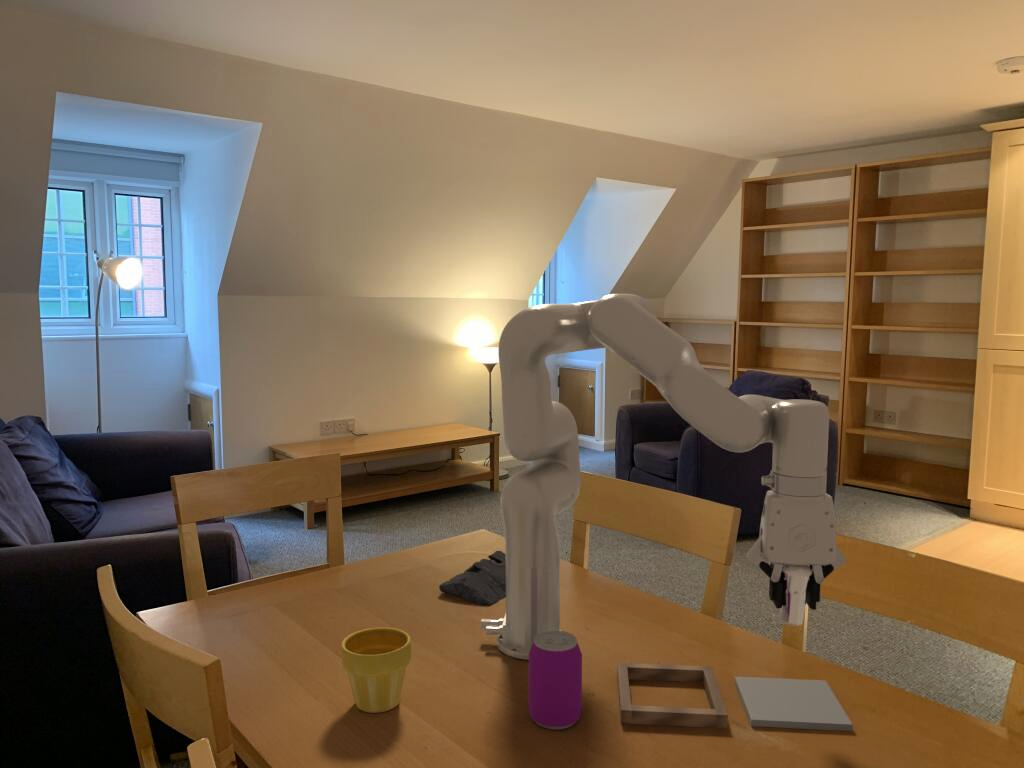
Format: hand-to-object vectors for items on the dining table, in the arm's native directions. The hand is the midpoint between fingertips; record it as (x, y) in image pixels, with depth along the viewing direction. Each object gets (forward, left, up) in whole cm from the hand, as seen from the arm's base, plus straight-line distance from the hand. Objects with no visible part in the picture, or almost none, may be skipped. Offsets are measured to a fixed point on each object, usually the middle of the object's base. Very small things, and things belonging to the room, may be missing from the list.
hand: (793, 604), depth 117 cm
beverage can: (-35, -7, -16) cm, 39 cm away
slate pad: (0, 0, -16) cm, 16 cm away
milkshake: (0, 0, -3) cm, 3 cm away
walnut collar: (-18, 0, -16) cm, 24 cm away
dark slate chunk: (-52, +46, -16) cm, 71 cm away
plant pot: (-62, -5, -16) cm, 64 cm away
